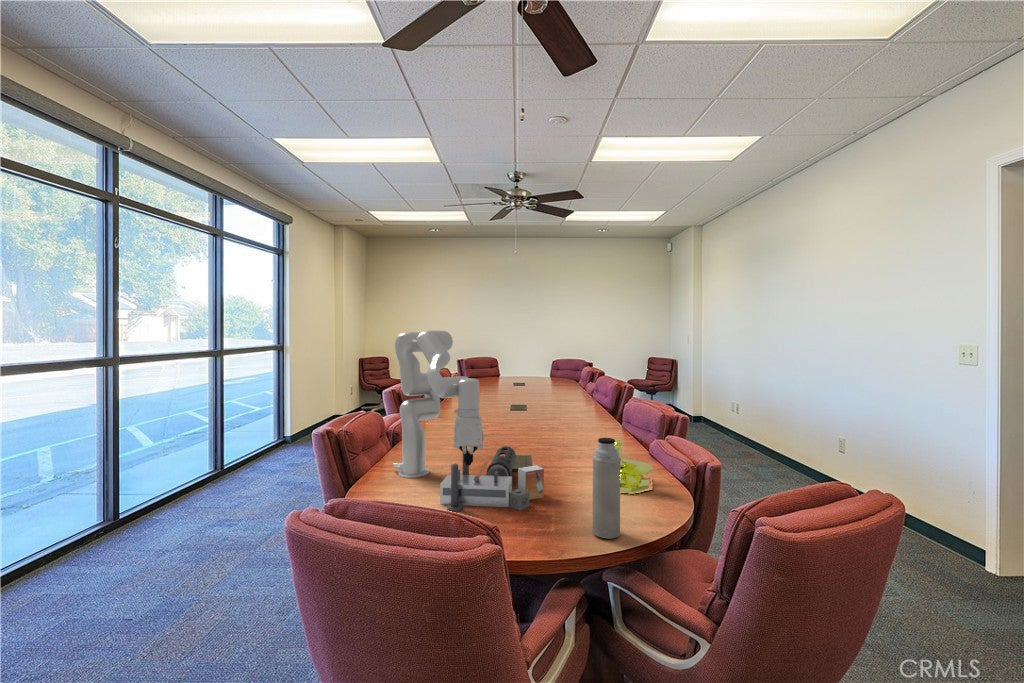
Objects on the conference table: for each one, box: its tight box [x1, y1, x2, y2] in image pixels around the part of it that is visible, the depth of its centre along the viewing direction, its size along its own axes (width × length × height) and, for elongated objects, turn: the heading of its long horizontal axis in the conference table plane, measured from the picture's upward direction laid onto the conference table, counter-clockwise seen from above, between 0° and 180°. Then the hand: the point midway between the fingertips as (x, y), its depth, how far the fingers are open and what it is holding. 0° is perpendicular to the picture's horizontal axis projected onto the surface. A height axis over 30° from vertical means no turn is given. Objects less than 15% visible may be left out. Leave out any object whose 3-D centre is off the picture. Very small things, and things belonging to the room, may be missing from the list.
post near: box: [446, 463, 463, 513], centre depth 148 cm, size 5×5×15 cm
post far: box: [462, 450, 470, 475], centre depth 166 cm, size 5×5×15 cm
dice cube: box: [508, 488, 530, 511], centre depth 151 cm, size 5×5×5 cm
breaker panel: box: [439, 469, 513, 508], centre depth 156 cm, size 24×11×10 cm, turn 84°
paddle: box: [474, 457, 490, 482], centre depth 156 cm, size 2×4×8 cm
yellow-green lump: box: [614, 439, 654, 493], centre depth 174 cm, size 18×25×16 cm
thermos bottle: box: [592, 437, 621, 539], centre depth 130 cm, size 8×8×28 cm
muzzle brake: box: [485, 445, 517, 477], centre depth 180 cm, size 10×28×10 cm, turn 174°
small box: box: [517, 464, 545, 501], centre depth 159 cm, size 8×6×10 cm
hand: (468, 464), depth 157 cm, fingers closed
